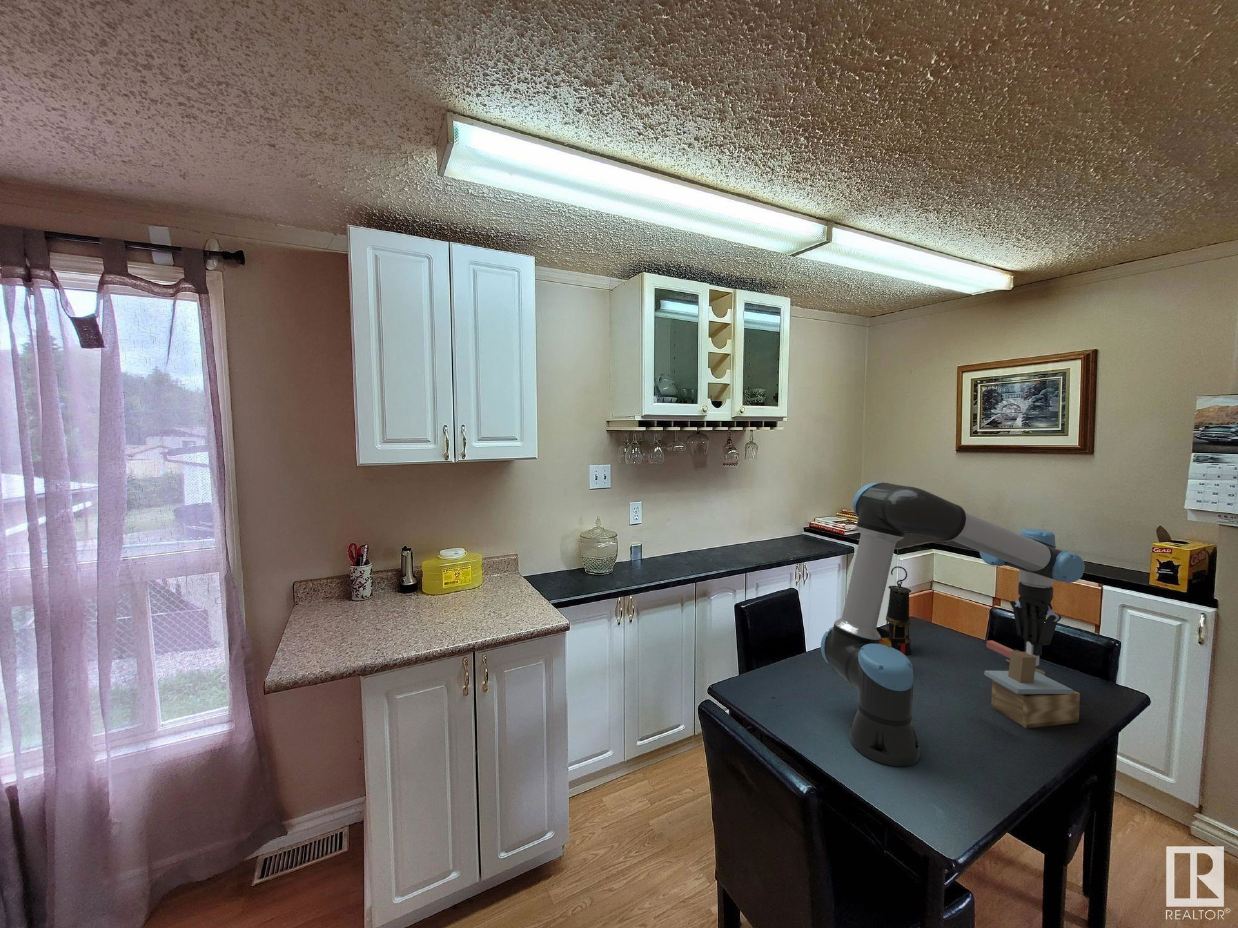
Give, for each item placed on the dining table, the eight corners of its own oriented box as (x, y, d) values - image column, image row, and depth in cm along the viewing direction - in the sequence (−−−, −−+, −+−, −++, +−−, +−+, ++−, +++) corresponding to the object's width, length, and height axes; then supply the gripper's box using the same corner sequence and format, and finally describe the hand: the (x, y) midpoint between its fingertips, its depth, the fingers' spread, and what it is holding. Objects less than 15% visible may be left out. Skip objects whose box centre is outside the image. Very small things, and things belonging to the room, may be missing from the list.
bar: (1026, 666, 139) (1027, 659, 138) (986, 646, 151) (986, 640, 151) (1032, 665, 139) (1033, 659, 139) (992, 646, 152) (992, 640, 152)
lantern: (901, 657, 165) (903, 571, 164) (876, 647, 173) (878, 565, 172) (916, 651, 170) (918, 568, 168) (891, 642, 178) (893, 562, 176)
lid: (1017, 697, 125) (1020, 662, 124) (983, 678, 135) (987, 646, 134) (1071, 697, 127) (1075, 663, 126) (1034, 678, 137) (1038, 647, 136)
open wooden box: (1026, 728, 125) (1027, 698, 125) (991, 706, 135) (992, 679, 135) (1078, 722, 127) (1079, 693, 127) (1040, 701, 137) (1041, 674, 137)
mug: (905, 667, 158) (906, 632, 157) (877, 677, 152) (878, 640, 152) (878, 655, 167) (879, 622, 166) (851, 664, 161) (852, 629, 160)
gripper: (1071, 590, 131) (1067, 674, 132) (1024, 576, 144) (1021, 653, 145) (1047, 591, 130) (1044, 676, 131) (1002, 577, 142) (999, 655, 144)
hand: (1032, 664), depth 138 cm, fingers closed
